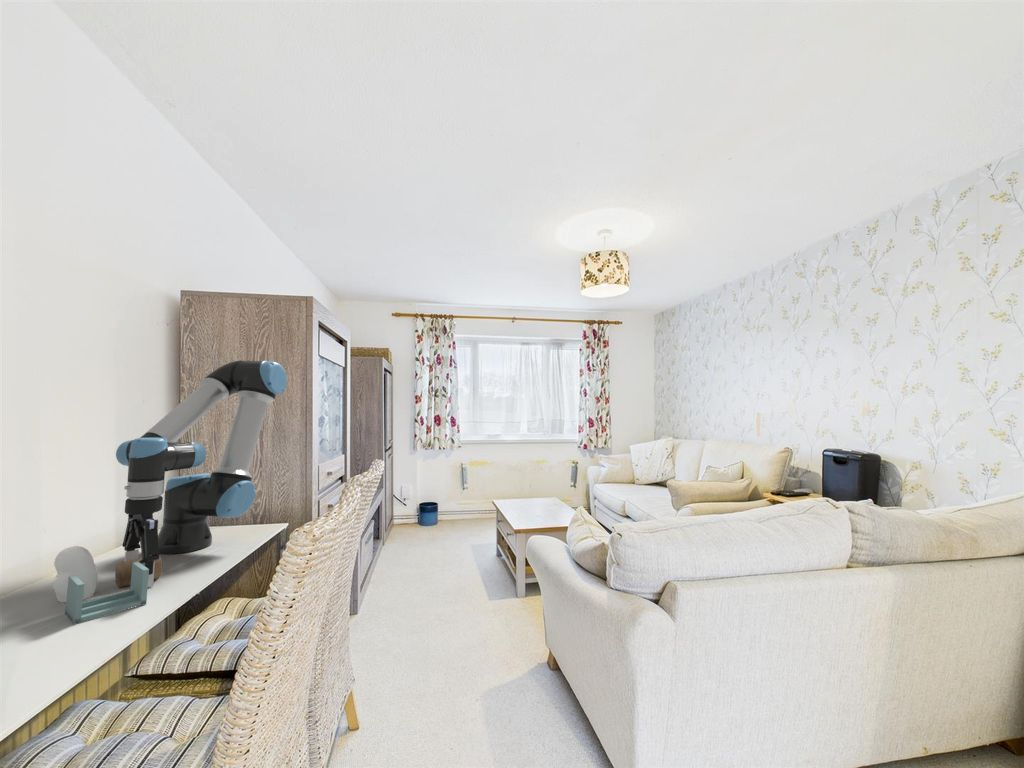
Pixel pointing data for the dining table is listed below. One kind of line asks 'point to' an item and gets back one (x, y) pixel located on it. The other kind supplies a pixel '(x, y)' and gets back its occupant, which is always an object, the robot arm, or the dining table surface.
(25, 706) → the dining table surface
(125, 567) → the roll
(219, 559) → the dining table surface
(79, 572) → the figurine
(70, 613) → the cradle
